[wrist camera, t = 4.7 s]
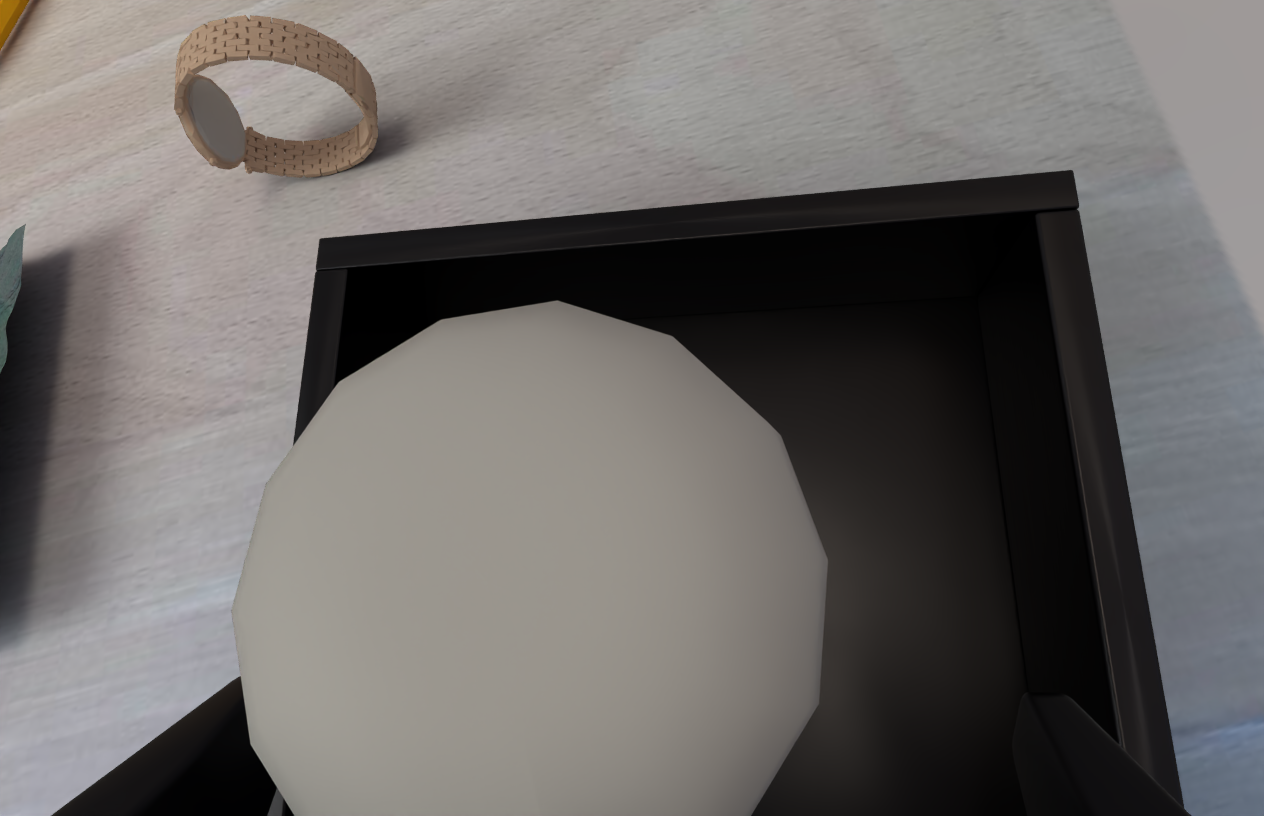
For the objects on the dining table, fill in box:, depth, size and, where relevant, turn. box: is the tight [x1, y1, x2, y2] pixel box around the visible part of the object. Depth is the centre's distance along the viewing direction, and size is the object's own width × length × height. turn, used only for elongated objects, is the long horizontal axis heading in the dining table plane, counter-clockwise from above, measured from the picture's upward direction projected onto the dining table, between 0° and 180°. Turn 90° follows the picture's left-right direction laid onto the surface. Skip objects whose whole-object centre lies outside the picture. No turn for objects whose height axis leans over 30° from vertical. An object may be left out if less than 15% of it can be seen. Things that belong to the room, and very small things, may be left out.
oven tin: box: [267, 170, 1184, 816], centre depth 15 cm, size 16×16×4 cm
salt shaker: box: [231, 301, 828, 816], centre depth 11 cm, size 6×6×13 cm
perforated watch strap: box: [174, 15, 378, 178], centre depth 20 cm, size 3×5×5 cm, turn 98°
